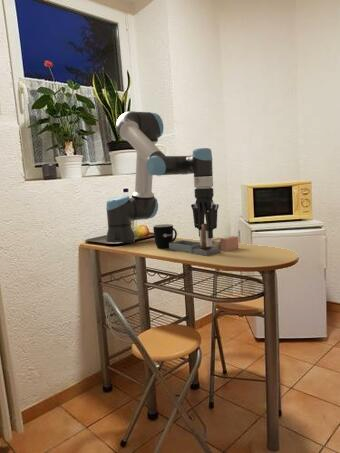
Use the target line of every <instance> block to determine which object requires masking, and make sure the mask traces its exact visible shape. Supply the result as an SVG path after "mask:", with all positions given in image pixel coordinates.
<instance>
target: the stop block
mask: <svg viewBox="0 0 340 453" xmlns="http://www.w3.org/2000/svg"><path fill="white" fill-rule="evenodd" d="M220 238H221V239H220V245H221V250H220V252H221V251H222V252H229V251H233V250H237V249H239V236H238V235H237V236H235V235H231V236H227V237H220Z"/></svg>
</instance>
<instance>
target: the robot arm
mask: <svg viewBox="0 0 340 453" xmlns="http://www.w3.org/2000/svg"><path fill="white" fill-rule="evenodd" d="M115 128H116V131H117V134H118V135H119V137H120V138H121V139H122V140H123V141H126V142H128V143H129V145H130V146H131V147H132V148H133V149H134V150H135V151H136V160H135V161H136V162H135V164H136V165H135V181H134V184H135V186H134V191H133V192H132V193H131V198H130V196H129V195H123V196H116V197H112V198H109V199H107V201H106V207H105V209H106V216H107V227H108V228H107V232H106V235H105V236H106V237H105V242H106V241H107V242H126V243H131V244H134V243H136V242H135V239H136V236H135V234H134V233H135V232H134V230H133V228H132V221H141V220H143V221H144V220H149V219H153V218H154V217H156V215H157V213H158V211H159V203H158V198H156V196H155V193H153V192H152V190H153V176H157V177H161V176H171V175H172V176H174V175H175V176H176V175H191V174H193V184H194V198H195V200H196V201H195V203H192V204H191V205H190V207H191V210H192V214H193V215H192V216H193V224H194V228H195V229H198V237H199V242H200V246H202V225H201V224H204V223H206V224H207V229H206V247H209V246H212V238H213V237H214V230H215V229H217V228H218V209H219V204H218V203H215V202H214V200H213V198H214V188H213V187H214V177H213V175H214V174H213V173H214V172H213V170H214V168H213V154H212V149H211V148H208V147H201V148H199V147H198V148H195V149H193V150H192V155H165V153H164V152H163V151H162V150H161V149H159V147H158V146H156V144H157V143H158V142H159V141H158V140H159V138H160V137H162V136H163V133H164V121H163V118H161V115H159V113H157V112H151V111H134V110H133V111H132V110H130V111H126V112H124V113H122V114H121V115H119V117H118V118H117V119H116V124H115Z"/></svg>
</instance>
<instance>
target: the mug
mask: <svg viewBox="0 0 340 453" xmlns="http://www.w3.org/2000/svg"><path fill="white" fill-rule="evenodd" d="M152 229H153V237H154V243H155V246H156V248H157V249H160V250H161V249H162V250H163V249H169V243H171V242H175V241H176V239H177V237H178V232H177V230H176V228H174V225H173V224H170V223H169V224H168V223H166V224H155V225H153V228H152Z"/></svg>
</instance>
